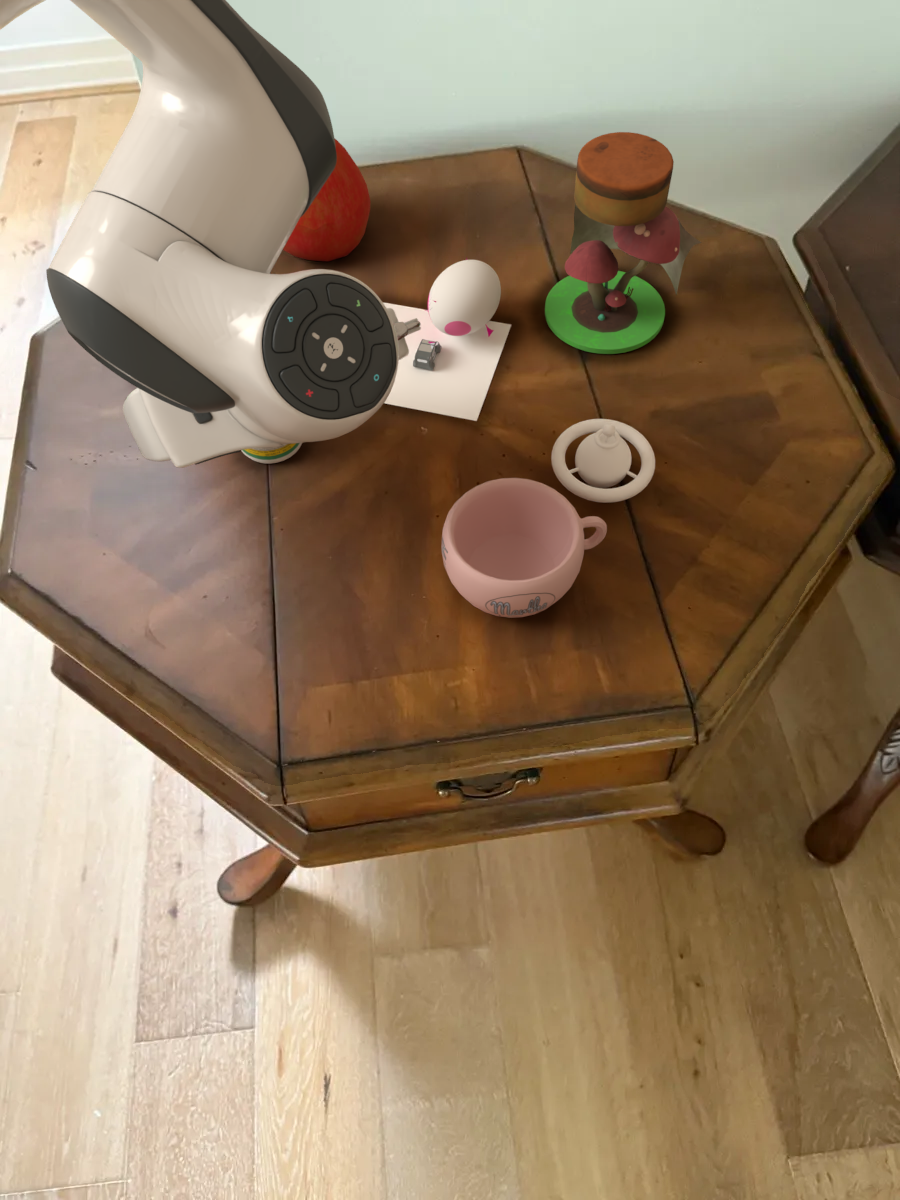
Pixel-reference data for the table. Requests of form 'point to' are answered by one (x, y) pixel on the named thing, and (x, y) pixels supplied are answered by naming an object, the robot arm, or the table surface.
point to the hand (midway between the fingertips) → (256, 388)
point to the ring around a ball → (603, 460)
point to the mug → (515, 546)
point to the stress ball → (464, 298)
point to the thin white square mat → (446, 367)
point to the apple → (333, 215)
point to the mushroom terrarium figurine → (618, 246)
